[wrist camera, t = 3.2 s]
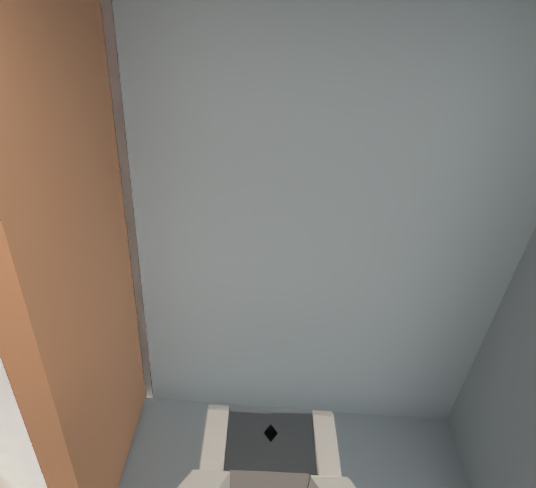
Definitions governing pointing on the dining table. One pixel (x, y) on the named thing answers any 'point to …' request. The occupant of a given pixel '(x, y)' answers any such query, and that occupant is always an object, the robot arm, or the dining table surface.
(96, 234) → the panel
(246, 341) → the blue-grey open tray
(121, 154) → the dining table surface
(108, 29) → the dining table surface
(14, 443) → the dining table surface
